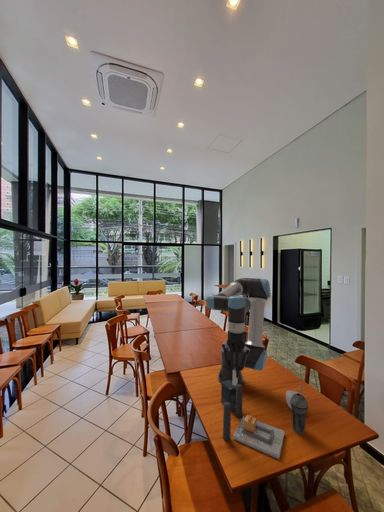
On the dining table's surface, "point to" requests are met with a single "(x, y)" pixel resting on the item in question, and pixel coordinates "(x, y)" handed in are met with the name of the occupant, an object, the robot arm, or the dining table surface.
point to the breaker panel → (261, 438)
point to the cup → (289, 396)
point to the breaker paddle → (250, 423)
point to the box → (228, 393)
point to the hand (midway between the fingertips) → (234, 383)
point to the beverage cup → (299, 412)
